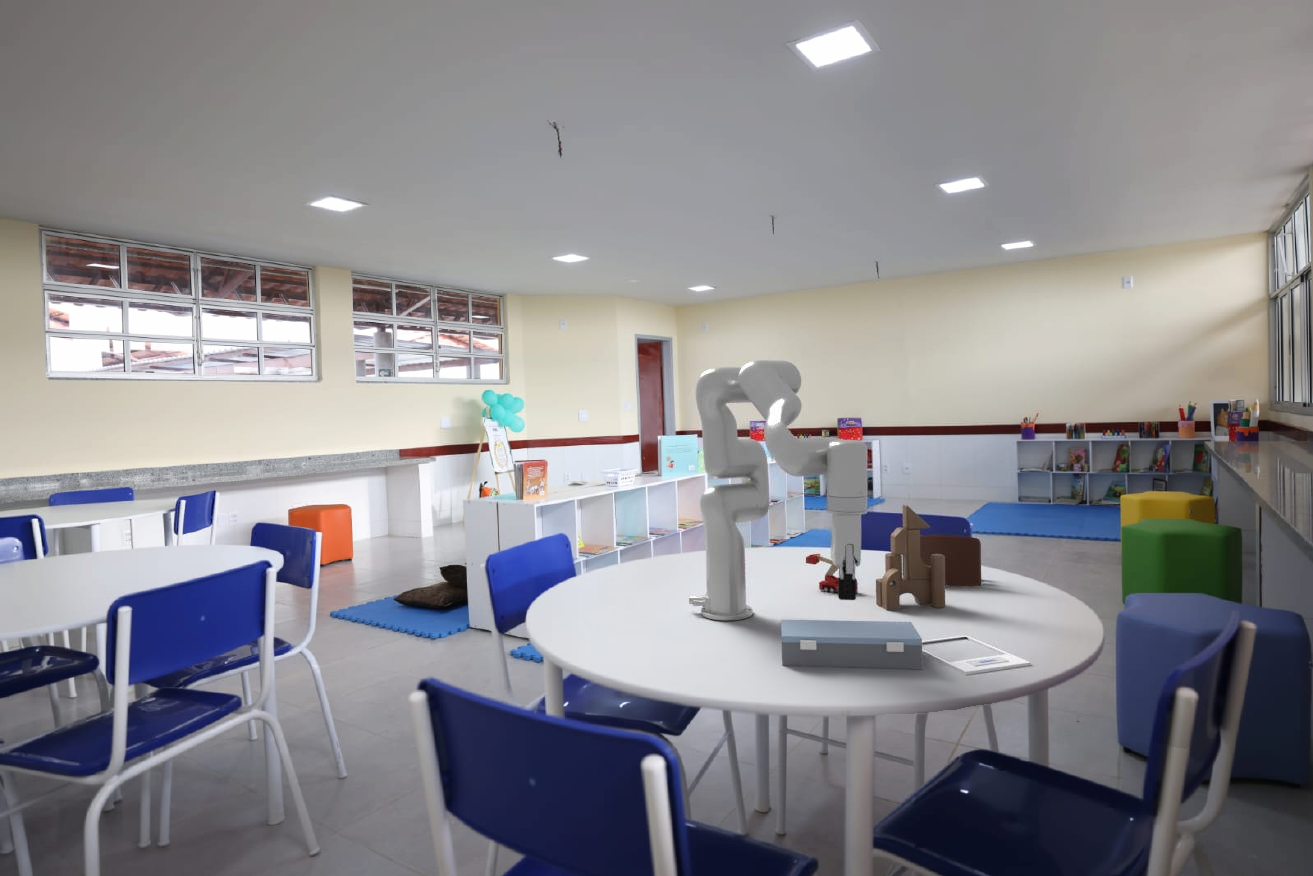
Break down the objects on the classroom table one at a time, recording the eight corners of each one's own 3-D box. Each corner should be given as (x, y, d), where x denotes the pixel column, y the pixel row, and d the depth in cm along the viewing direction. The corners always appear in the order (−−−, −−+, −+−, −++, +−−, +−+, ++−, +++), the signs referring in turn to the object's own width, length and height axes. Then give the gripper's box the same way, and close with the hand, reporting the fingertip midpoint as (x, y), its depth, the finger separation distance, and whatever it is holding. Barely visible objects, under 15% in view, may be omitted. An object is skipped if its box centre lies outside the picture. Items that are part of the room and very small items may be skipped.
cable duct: (782, 665, 141) (781, 642, 141) (781, 647, 152) (781, 625, 152) (922, 669, 137) (922, 645, 137) (911, 650, 148) (911, 628, 148)
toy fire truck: (855, 595, 192) (854, 559, 192) (806, 589, 199) (805, 554, 199) (859, 592, 195) (858, 556, 194) (810, 587, 202) (809, 552, 202)
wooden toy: (886, 611, 176) (884, 508, 176) (875, 604, 183) (874, 505, 182) (947, 608, 178) (946, 506, 177) (935, 601, 184) (933, 502, 183)
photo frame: (965, 670, 134) (906, 642, 151) (965, 676, 134) (906, 647, 151) (1030, 661, 138) (965, 634, 155) (1030, 667, 138) (965, 639, 155)
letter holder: (981, 587, 197) (981, 535, 197) (904, 584, 202) (903, 534, 202) (976, 579, 207) (975, 529, 206) (902, 576, 212) (901, 528, 212)
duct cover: (781, 649, 140) (781, 637, 140) (781, 630, 152) (781, 619, 152) (923, 652, 136) (922, 640, 136) (911, 632, 148) (911, 621, 148)
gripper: (824, 498, 147) (824, 588, 149) (829, 510, 133) (829, 609, 134) (862, 499, 146) (862, 589, 147) (872, 511, 132) (872, 611, 133)
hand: (846, 598), depth 141 cm, fingers closed
